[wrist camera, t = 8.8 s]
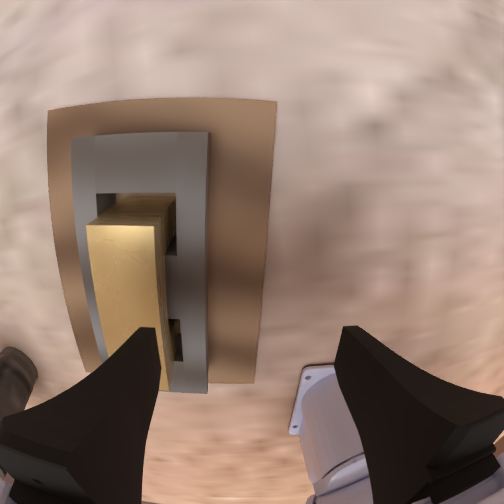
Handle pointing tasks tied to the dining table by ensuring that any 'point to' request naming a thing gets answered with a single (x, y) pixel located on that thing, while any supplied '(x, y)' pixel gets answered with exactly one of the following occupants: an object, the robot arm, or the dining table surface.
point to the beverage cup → (15, 384)
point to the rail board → (187, 218)
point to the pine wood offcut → (134, 273)
